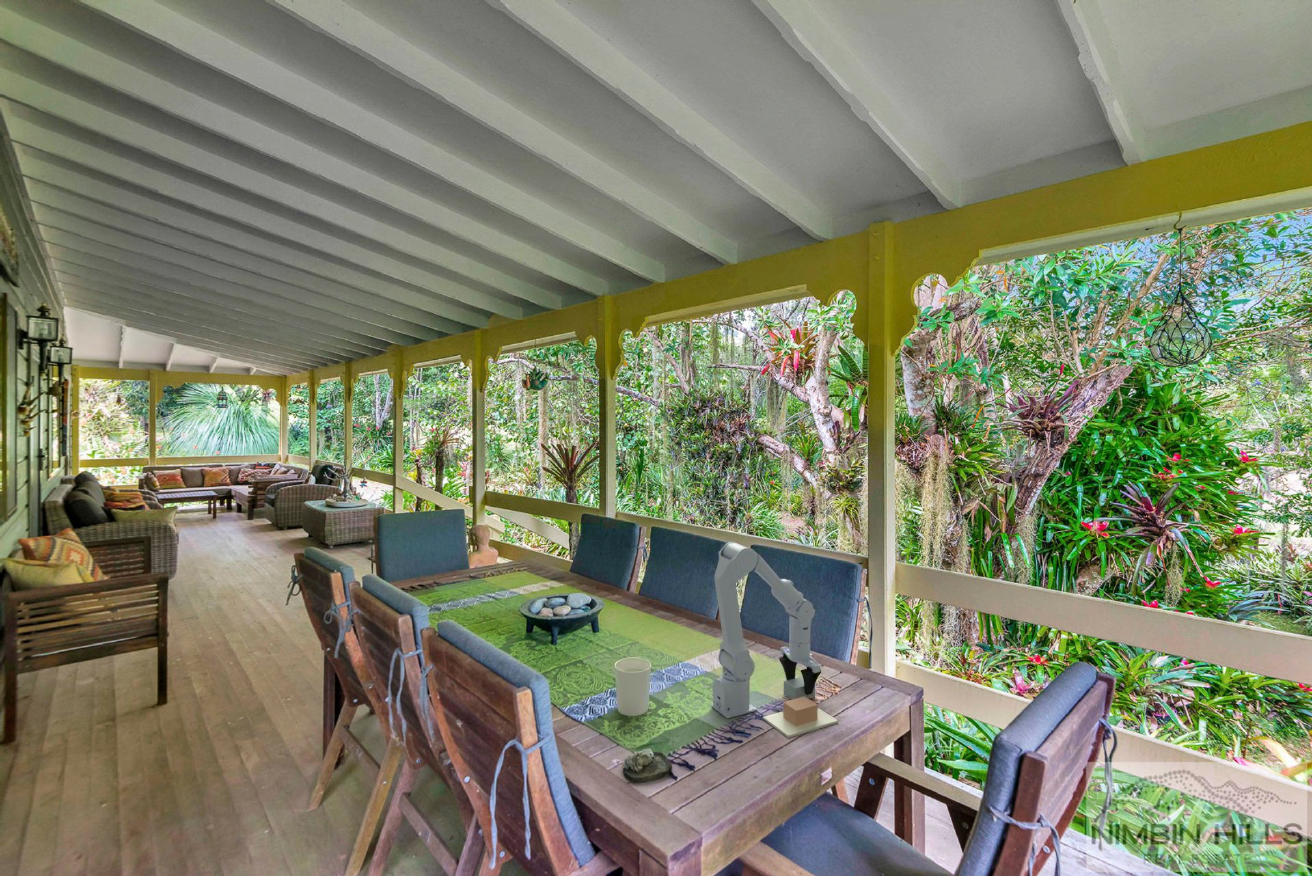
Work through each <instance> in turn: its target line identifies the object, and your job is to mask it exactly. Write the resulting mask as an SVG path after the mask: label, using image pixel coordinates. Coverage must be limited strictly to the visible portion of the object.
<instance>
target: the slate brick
mask: <svg viewBox="0 0 1312 876" xmlns="http://www.w3.org/2000/svg"><path fill="white" fill-rule="evenodd" d="M783 695H784V696H786V698H788V699H789V700H793V699H797V698H800V697H804V696H805V697H806V698H808V699H809V700H810V699H812V698H816V685H815V686H814V689H813V693H812V694H809V695H806V694H805V691H804V680H803V676H799V677H795V679H791V680H783Z"/></svg>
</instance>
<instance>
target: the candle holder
mask: <svg viewBox="0 0 1312 876" xmlns="http://www.w3.org/2000/svg"><path fill="white" fill-rule="evenodd" d="M651 669H652V663H651V661H650V660H648V659H646V658H643V657H635V656H634V657H625V658H621V659H619V660H617V661H616V662H615V663H614V675H615V677H614V678H615V693H616V706H617V707H616V708H617V711H618V713H620V714H621V715H622V716H627V717H638V716H641V715H643V714H646V713H647V712H648V710H649V706H650V705H649V704H650V688H651V687H650V686H651V673H652V672H651V671H652V670H651Z"/></svg>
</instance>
